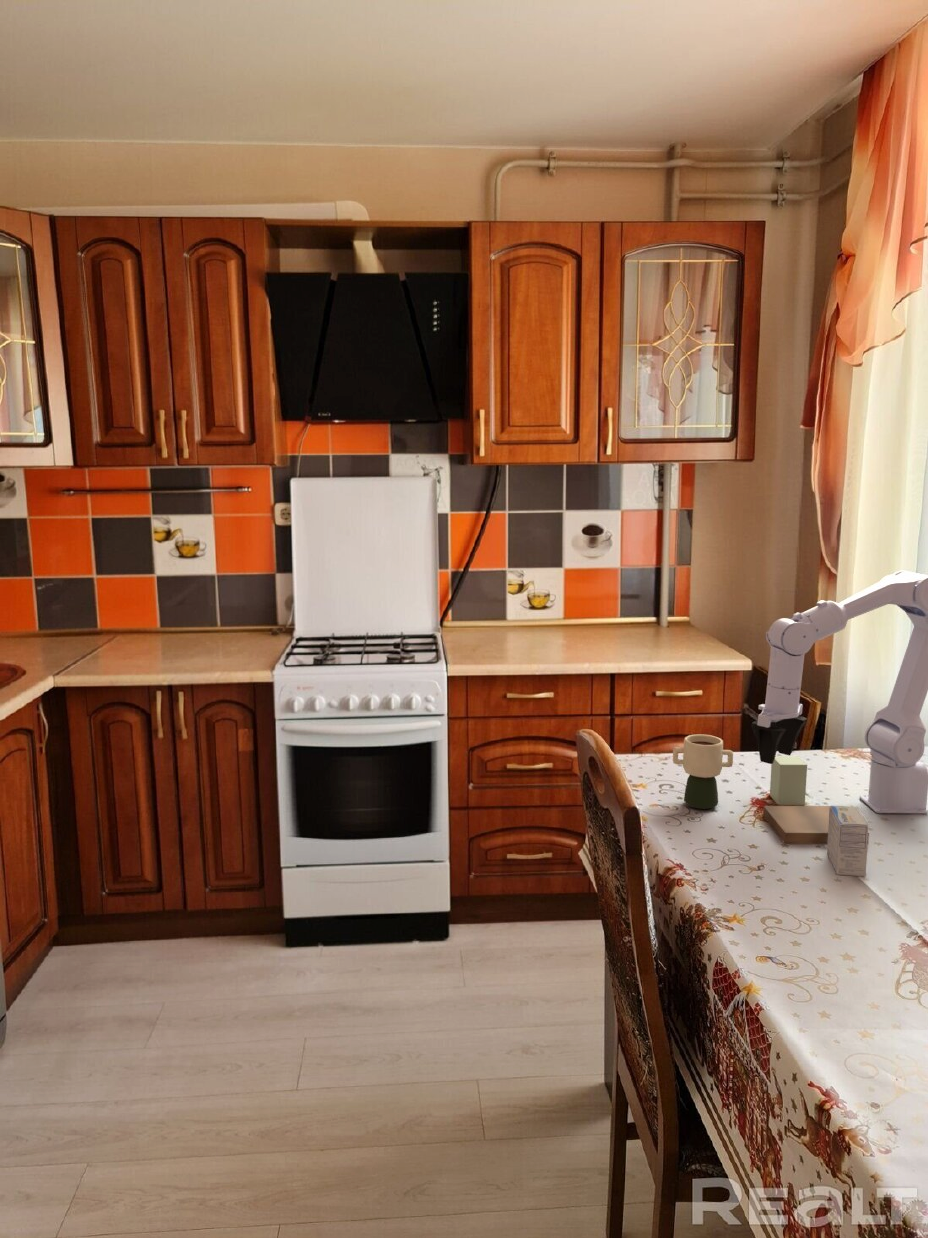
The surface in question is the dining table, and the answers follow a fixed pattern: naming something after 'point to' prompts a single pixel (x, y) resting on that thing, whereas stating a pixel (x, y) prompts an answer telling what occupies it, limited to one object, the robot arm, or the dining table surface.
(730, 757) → the beige green trophy cup
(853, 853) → the medicine box
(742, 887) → the dining table surface
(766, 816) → the walnut base
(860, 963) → the dining table surface
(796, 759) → the sage block
